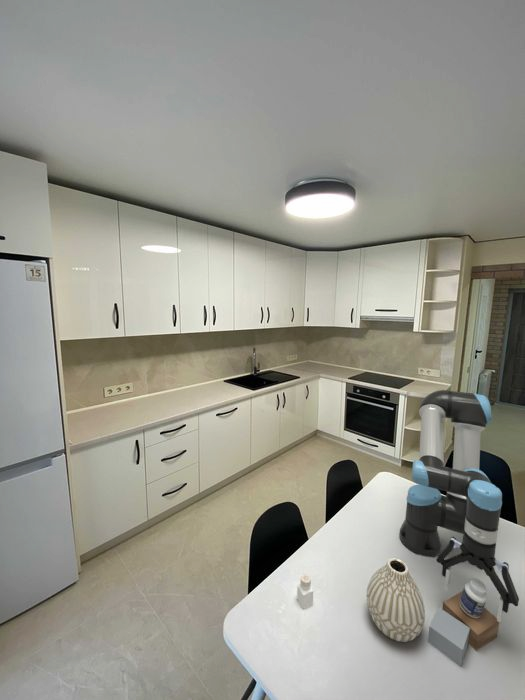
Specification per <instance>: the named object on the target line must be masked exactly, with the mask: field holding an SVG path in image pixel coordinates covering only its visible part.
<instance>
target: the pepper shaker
mask: <svg viewBox="0 0 525 700" xmlns="http://www.w3.org/2000/svg"><path fill="white" fill-rule="evenodd" d="M311 583H312V580H311V576H310V574H308V573H302V574H301V576H300V582H299V583H298V584H297V586H296V587H297V591H296V593H297V594H296V600H297V602H298V603H299V606H300V607H301V609H302V610H305V609H307V608H311V607H312V606H313V605H314V588H313V587H312V585H311Z"/></svg>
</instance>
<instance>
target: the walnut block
mask: <svg viewBox="0 0 525 700" xmlns="http://www.w3.org/2000/svg"><path fill="white" fill-rule="evenodd" d="M462 592H463V590H461V591H460V592H458V593H456V594H455V595H453V596H451V597H449V598H448V599H446V600H444V601H443V602H442V608H441V609H442V610H444V611H445V612H447V613H448V614H450V615H451V616H453V617H454V618H456V619H457V620H459V621H460V622H462V623H463V624H465V625H466V626H468V627H469V628H470V633H469V641H468V645H469V646H470V647H471V648H472V649H473V650H474V651H476V652H477V651H479V650H480V649H481V648H483V647H485V645H487V644H488V643H490V642H491V641H493V640H495V639H496V638H497V637H498V634H499V626H500V622H498V621H497V616H495V615H494V614H493V613H491V612H490V610H488V609H487V608H485V607H484V609H483V611H482V614H481V616H480V617H479V618H472V617H470V616H469V615H467V614H466V613H465V612H464V611H463V610H462V608H461V606H460V598H461V595H462Z"/></svg>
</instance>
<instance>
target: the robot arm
mask: <svg viewBox="0 0 525 700" xmlns="http://www.w3.org/2000/svg"><path fill="white" fill-rule="evenodd" d="M418 408H419V409H418V414H419V417H420V418H421V420H420V436H419V437H420V438H419V455H418V457H419V458H418V460H417V459H415V460H413V462H412V468H411V469H412V472H411V480H412V482H413V483H414V485H411V486H410V487H409V488H408V490H407V496H406V507H405V508H406V509H405V517H404V518H405V519H404V521H403V522H402V524H401V527H400V529H399V539H400V542H401V543H402V544H403V546H405V547H406V548H407V549H408V550H410V551H411V552H413V553H415V554H417V555H420V556H424V557H436V556H437V557H436V559H435V560H436V562H437V563H438V564H440V565H441V566H442V570H441V575H442V577H444V579H445V580H444V586H443V587H444V589H445V590H446V591H448V589H449V587H450V583H451V575H452V567H453V566H456V565H458V564H461V563H465V562H468V564H470V565H471V566H474V567H476V568H478V569H479V570H480V571H482V570H483V571H484V573H485V574H486V576H488V577H489V580H490V581H491V583H492V584H493V586H494V588H495V589H496V591H497V593H498V594H499V596H500V597H499V601H498V608H497V609H498V610H497V616H496V618H497V621H498V622H499V623H501V620H502V616H503V613H506V614H507V613H508V612H509V608H510V604H511V605H513V606H515V607H518V606H519V601H520V598H519V595H518V591H517V590H516V586H515V584H514V583H513V582H514V581H513V579H512V577H511V575H510V572H509V571H510V570H509V568H510V565H509V563H507V562H506V561H504V562H500V561H498V560H497V559H496V557H495V556H496V547H497V542H498V541H497V539H498V533H499V524H500V516H501V510H502V506H503V493H502V491H501V489H500V488H499V487H497V486H496V485H495V484H493V483H492V482H491V480H490V479H489V477H488V476H487V475H486V473H484V471H482V470H481V469H480V460H481V459H480V457H481V456H480V455H481V433H482V432H483V431H484V430H486V429H487V427H486V426H488V425H491V423H492V417H493V416H492V407H491V402H490V400H489V398H488V397H487V396H485V395H483V394H478V393H472V392H462V391H455V390H454V391H453V390H448V389H447V390H446V389H439V390H436V391H433V392H431V393H429V394H428V395H426V396H425V397H424V398H423V399H422V401H421V402H420V404H419V407H418ZM445 419H450V424H451V425H452V427H454V438H453V439H454V440H453V441H454V442H453V443H454V444H453V455H452V456H453V458H452V459H453V460H452V468H451V467H447V466H445V458H444V453H445V452H444V420H445ZM441 491H444V492H446V495H442V494H441ZM438 527H439V528H443V529H446V530H448V531H449V530H450V531H453V532H456V533H459V534H461V535H463V537H462V542H459V541H458V540H457V538H456V537H454V536H451V538H450V540H449V543H448V544H447V545H446V547H445V548H444V549H443V550H442V549H441V548H442V542H441V538H440V534H439V531H438ZM457 548H459V549H460V551H461V552H460V553H458V554H456V555H454V556H452V557H449V558H447V556H448V555H450V553H451V552H452V551H453V550H454V549H457ZM495 566H496V567H497V569H498V571H499V572H500V573H501V577H502V580H503V582H502V581H501V578H499V576H498V574H497V572H496V571H495ZM503 583H504V584H503Z"/></svg>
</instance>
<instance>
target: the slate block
mask: <svg viewBox="0 0 525 700" xmlns="http://www.w3.org/2000/svg"><path fill="white" fill-rule="evenodd" d="M442 609H443V608H441V607H440V606H439V607H438V606H437V609H436V611H435V613H434V614H433V617H432V619H431V622H430V624H429V626H428V636H427V642H428V644H430V645H431V646H433V647H434V648H435V649H436V650H438V651H440V653H443V654H444V655H445V656H446V657H448V659H450V660H451V661H453V662H454V663H455V664H457V665H458V666H459V667H461V666H462V663H463V661H464V659H465V655H466V651H467V648H468V645H469V644H468V641H469V633H470V628H469V627H468V626H466V625H465V624H463V623H462V622H460V621H459V620H457V619H456V618H454V617H453V616H451V615H450V614H448V613H447V612H445V611H444V610H442Z"/></svg>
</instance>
